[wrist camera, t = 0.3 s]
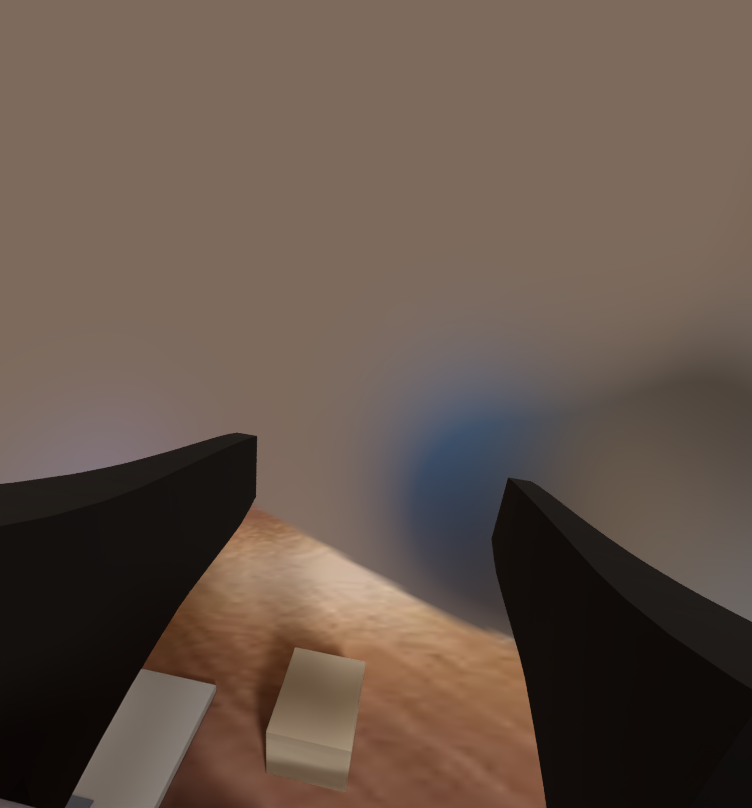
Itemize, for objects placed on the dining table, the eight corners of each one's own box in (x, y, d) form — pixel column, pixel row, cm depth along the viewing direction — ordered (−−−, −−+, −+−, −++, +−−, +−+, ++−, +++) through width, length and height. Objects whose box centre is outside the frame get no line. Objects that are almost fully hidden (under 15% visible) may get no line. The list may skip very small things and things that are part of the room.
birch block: (345, 793, 20) (351, 751, 18) (266, 774, 20) (265, 731, 19) (359, 702, 24) (365, 661, 23) (293, 687, 24) (295, 647, 23)
